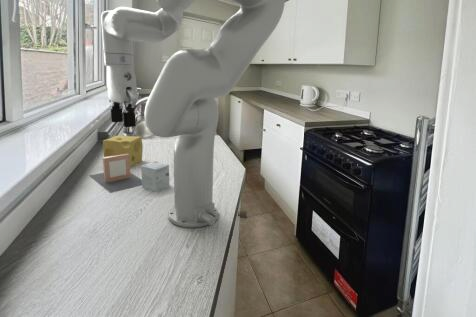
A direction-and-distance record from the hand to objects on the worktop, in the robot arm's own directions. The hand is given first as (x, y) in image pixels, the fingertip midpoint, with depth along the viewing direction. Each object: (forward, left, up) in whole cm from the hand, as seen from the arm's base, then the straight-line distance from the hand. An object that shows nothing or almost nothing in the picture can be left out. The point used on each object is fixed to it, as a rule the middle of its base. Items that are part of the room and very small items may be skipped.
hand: (123, 123), depth 89 cm
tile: (+7, 0, -19) cm, 21 cm away
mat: (+7, 0, -20) cm, 21 cm away
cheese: (+23, -9, -20) cm, 32 cm away
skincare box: (-5, -7, -20) cm, 22 cm away
